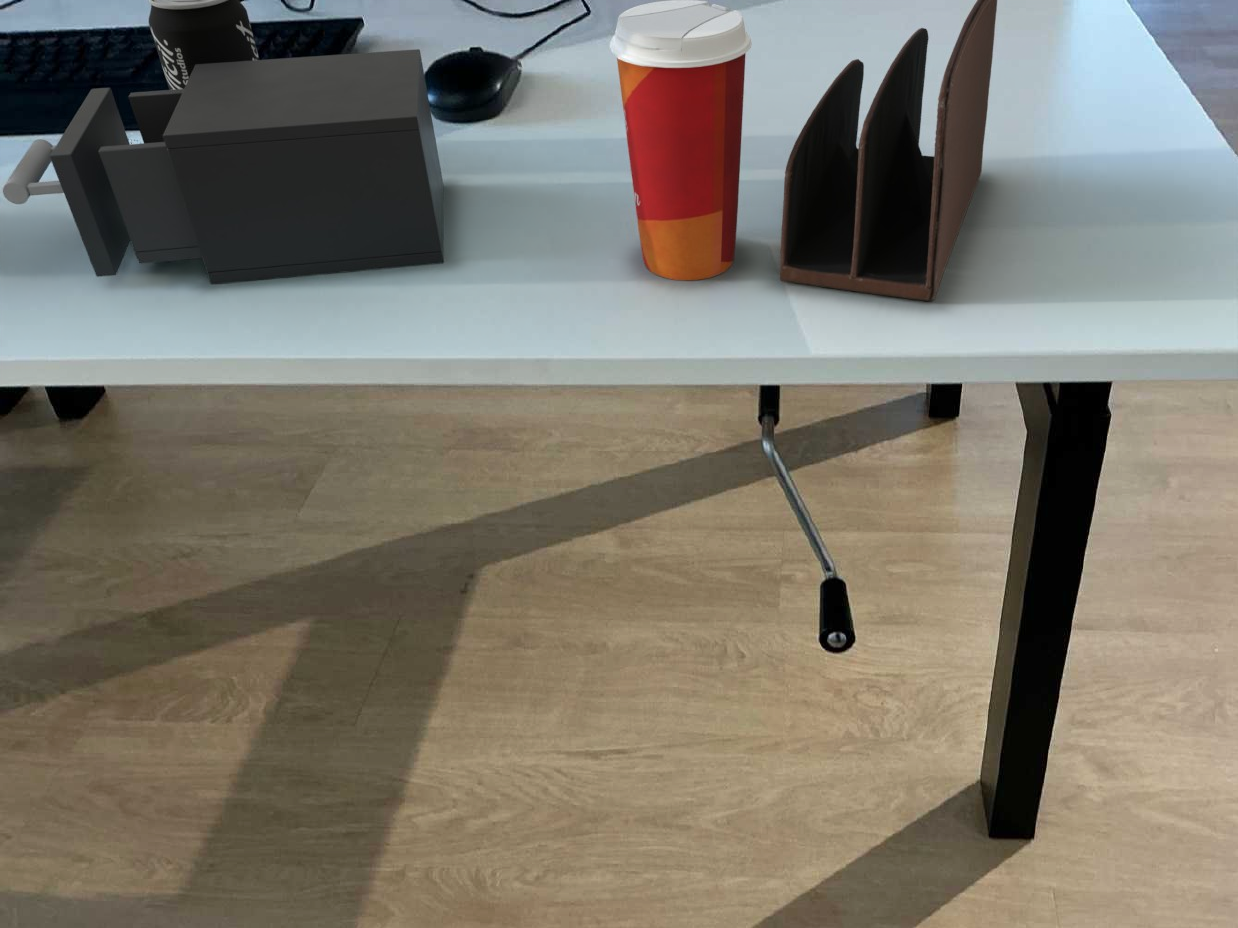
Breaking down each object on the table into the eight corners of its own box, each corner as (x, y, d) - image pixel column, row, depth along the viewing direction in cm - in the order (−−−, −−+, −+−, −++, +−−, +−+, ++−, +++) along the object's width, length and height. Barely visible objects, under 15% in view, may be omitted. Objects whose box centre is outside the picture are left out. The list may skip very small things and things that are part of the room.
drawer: (24, 283, 75) (-28, 161, 70) (67, 206, 83) (23, 93, 78) (318, 257, 77) (287, 137, 72) (330, 185, 86) (303, 73, 80)
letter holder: (980, 177, 88) (1007, -30, 79) (933, 306, 73) (960, 70, 64) (847, 162, 90) (858, -41, 81) (776, 284, 76) (780, 53, 66)
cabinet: (210, 284, 76) (162, 135, 70) (235, 201, 86) (195, 64, 79) (443, 263, 78) (417, 116, 72) (443, 184, 88) (419, 48, 81)
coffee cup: (692, 220, 83) (684, -12, 73) (777, 258, 78) (781, 17, 69) (598, 259, 78) (576, 18, 69) (683, 303, 74) (672, 51, 64)
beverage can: (268, 178, 89) (222, 6, 81) (180, 178, 89) (125, 7, 81) (294, 143, 94) (253, -21, 86) (211, 143, 94) (162, -21, 86)
